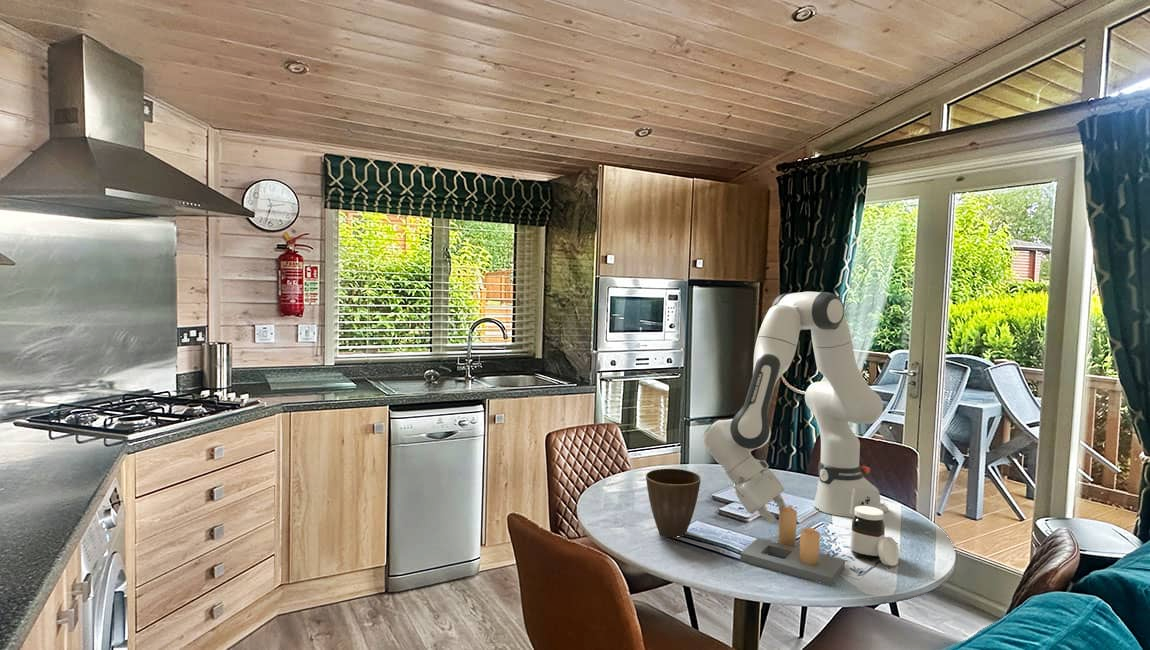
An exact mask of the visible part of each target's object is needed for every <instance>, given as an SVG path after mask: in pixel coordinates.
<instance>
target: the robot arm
mask: <svg viewBox="0 0 1150 650" xmlns="http://www.w3.org/2000/svg"><path fill="white" fill-rule="evenodd" d="M760 325H761V326H760V328H759V331H758V334H757V338H756V342H755V345H754V352H753V369H752V377H751V381H750V384H749V388H748V390H747V393H746V394H747V395H746V397H745V401H744V402H743V403H744V404H743V405H742V406H741V408H740V410H738V412H737V413H736V414H735V415H734V416H733V418H729V419H718V420H715V421H714V422H713V423H712V424H710V426H709V427H708V428H707V429H706V430H705V432H704V434H703V443H704V445H705V447H706V449H707V451H708V452H709V453H710V455H711V456H712V457H713V459H714V460H715V461H716V462H717V464H719V465H720V466H721V467H722V468H723V469H724V473H725V474H726V475H727V477H728V478H729V479H730V480H731V482H732V484H733V485H734V487H733V488H734V490H735V494H736V497H737V498H738V499H739V502H740V503H741V505H742V506H743V507H744V509H745V510H746V511H747V513H748V514H751V515H753V514H755V513H756V512H758V513H759V515H760V516H762V518H765V519H766V520H767V522H768V523H769V524H770V525H772V524H773V523H774V522H776V521H777V517H776V516H775V514H774V513H771V512H770V511H769V510H768V507H767V506H766V505H767V504H769V503H770V502H771V501H773V502H774V503H776V505H777V507H778V510H780V509H781V508H784V507H787V506H788V505H786V504H785V500H784V498H783V497H782V495H781V494H782V493H783V492H784V491H785V490H784V486H783V484H782V483H781V481H780V480H779V479H778V477H777V476H776V475H775V474H774V472H773V471H772V470H771V469H770V468H769V464H768V463H767V462H766V461H765V460H760V459H757V458H755V457H754V456H753V455H752V453H751V452H752V451H754V450H756V449H759V448H762V447H764V446H766V445H767V443H768V442H769V441H770V438H771V434H772V432H771V425H770V424H769V418H768V413H769V408H770V404H771V401H772V398H773V394H774V390H775V386H776V385H777V382H778V380H779V379H780V377H781V376H782V375H784V374H785V373H786V372H787V371H788V369H789V367H790V366H791V364H792V362H793V359H794V358H795V354H796V352H797V351H796V350H797V346H798V344H799V343H798V342H799V338H800V331H801V330H802V331H803V330H805V331H806V330H810V333H811V342H812V348H813V354H814V358H815V364H816V369H817V370H818V372H819V373H820V374H821V375H822V376H824V377H825V379H826V380H823V381H820V380H819V381H815V382H812V383H811V384H810V385H809V386H808V387H807V388H806V390H805V394H804V400H805V404H806V406H807V408H809V410H810V411H811V413H812V415H813V416H814V418H815V422H816V423H817V428H818V430H819V435H820V460H819V461H818V477H819V478H818V480H817V481H818V482H817V488H816V493H815V496H814V501H813V503H812V505H813V504H814V505H815V506H817V507H818V508H819V510H818V511H820V512H822V513H825V514H829V515H834V516H839V517H846V518H847V517H848V518H852V519H853V517H854V515H855V514H854V512H855V507H858V506H869V507H874V508H877V509H880V510H882V511H883V512H884V513H886V512H889V507H888V506H887V505H886V504H884V503H883V502H881V495H880V492H879V489H878V488H877V487H876V486H875V485H873V484H872V483H871V482H870V481H868V480H867V478H865V477H864V474H863V473H865V474H870V472H871V468H870V467H868V466H865V465H862V466H861V464H860V454H861V453H860V448H861V442H860V440H859V438H858V435H856V434H855V433H854V432H853V431H852V428H851V426H850V424H849V423H852V424H858V425H864V424H865V425H867V424H868V425H870V424H871V425H872V424H875V423H876V422H877V421H878V420H879V418H880V417H881V416H882V414H883V410H884V403H883V400H882V397H881V396H880V394H878V393H877V392H876V391H875V390H873V389H872V388H871V387H870V385H869V384H868V383H867V381H866V380H865V378H864V377H863V375H862V373H861V370H860V369H859V367H858V364H857V361H856V357H855V353H854V352H855V351H854V346H853V341H852V336H851V331H850V327H849V324H848V321H847V318H846V315H845V306H844V303H843V301H842V299H841V298H840V297H839V296H838V295H837V294H835V293H831V292H829V291H828V292H827V291H822V292H820V291H802V292H787V293H782V294H780V295H778V296H777V297H776V298H775V299H774V300H773V302H772V304H771V307H770V308H769V309H768V310H767V313H766V314H765V315H764V318H763V321H762V323H761V324H760Z"/></svg>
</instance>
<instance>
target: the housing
mask: <svg viewBox="0 0 1150 650" xmlns="http://www.w3.org/2000/svg"><path fill="white" fill-rule="evenodd" d="M799 532H800V533H799V534H800V535H799V547H796V546H794V547H792V546H788V545H784V544H780V543H778V542H774V541H772V540H768V539H764V538H761V537H760V538H759V537H757V538H756V539H755V540H754V541H752V543H750V544H749V545H748V546H747V547H745V548H744V549H743V550H742V551H741V552H740V558H739V561H741V562H744V563H748V564H752V565H755V566H757V567H758V566H759V567H762V568H766V569H769V570H773V571H776V572H780V573H784V574H787V575H791V576H795V577H797V576H798V578H801V579H806V580H808V579H809V581H812V580H813V581H812V582H815V581H817V582H816V583H819V582H821V583H820V584H822V583H824V585H826V584H828V585H827V586H830V585H832V584H833V583H836V581H837V580H838V578H839V577H840V575H842V573H843V572H844V570H845V568H846V560H845V559H842V558H838V557H834V556H830V555H826V554H822V553H820V535H821V533H820V532H819V531H817V530H816V528H812V527H809V526H806V527H805V529H801V530H800V531H799ZM769 554H771V555H769ZM772 555H774V556H772ZM776 556H779V557H782V558H779V557H776ZM836 579H837V580H836ZM833 585H834V584H833ZM833 585H832V586H833Z"/></svg>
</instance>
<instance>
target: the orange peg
mask: <svg viewBox="0 0 1150 650" xmlns="http://www.w3.org/2000/svg"><path fill="white" fill-rule="evenodd" d="M786 506H787V507H784V508H781V509H780V510H779V509H778V510H779V513H778V516H779V517H778V535H777V536H778V537H777V539H778V541H777V543H780V544H784V545H788V546H792V547H796V542H797V541H796V539H797V518H798V515H797V510H796V509H794V508H793V507H792V506H790V505H789V506H788V505H786Z"/></svg>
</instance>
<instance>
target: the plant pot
mask: <svg viewBox="0 0 1150 650" xmlns="http://www.w3.org/2000/svg"><path fill="white" fill-rule="evenodd" d="M645 479H646V489H647V495H648V499H649V504H650V509H651V512H652V516H653V519H654V523H655V525H656V528H657V531H658V533H659V535H661V536H664V537H666V538H671V537H677V536H682V535H684V534H685V533H686V534H687V532H688V529H689V527H690V524H691V521H692V518H693V516H694V512H695V510H696V509H695V508H696V504H697V502H698V501H697V500H698V496H699V493H700V485H701V480H702V477H701V476H700V475H699V474H697V473H695V472H693V471H690V470H685V469H680V468H659V469H654V470H651V471H650V470H649V471H648V472H647V473H646V474H645ZM686 534H685V535H686ZM685 535H684V536H685ZM682 537H683V536H682Z"/></svg>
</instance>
